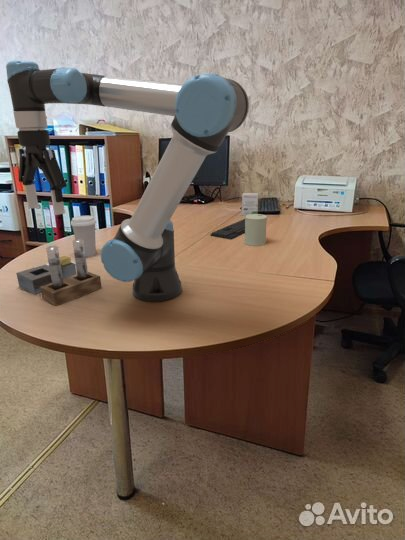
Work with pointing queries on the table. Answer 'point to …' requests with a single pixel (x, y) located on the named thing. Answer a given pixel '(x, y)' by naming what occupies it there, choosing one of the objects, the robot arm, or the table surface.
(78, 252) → the test tube
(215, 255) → the table surface
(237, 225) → the dark grey ribbed block
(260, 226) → the can
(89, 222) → the coffee cup
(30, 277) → the block
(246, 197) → the ink box
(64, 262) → the yellow piece
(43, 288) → the rack
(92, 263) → the table surface
